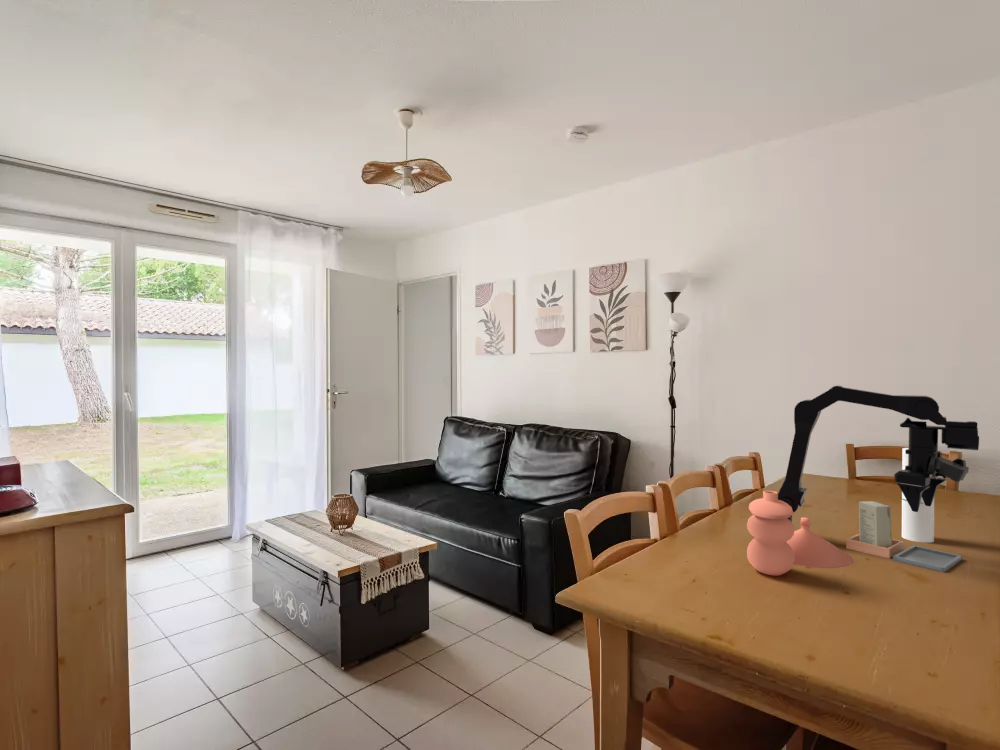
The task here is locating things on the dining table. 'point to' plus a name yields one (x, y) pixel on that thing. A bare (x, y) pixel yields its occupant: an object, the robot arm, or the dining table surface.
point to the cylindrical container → (916, 516)
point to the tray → (927, 558)
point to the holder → (874, 547)
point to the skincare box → (875, 524)
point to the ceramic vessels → (786, 540)
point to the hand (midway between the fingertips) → (921, 508)
